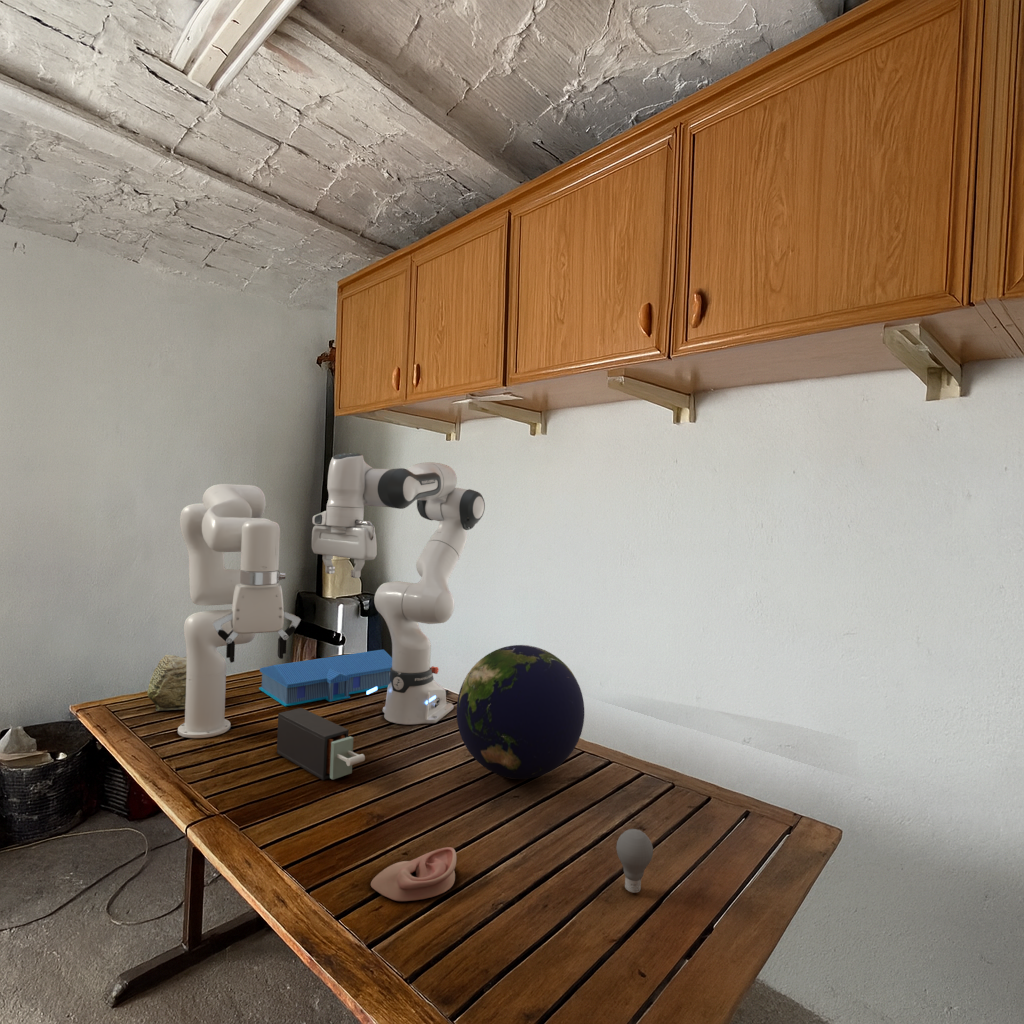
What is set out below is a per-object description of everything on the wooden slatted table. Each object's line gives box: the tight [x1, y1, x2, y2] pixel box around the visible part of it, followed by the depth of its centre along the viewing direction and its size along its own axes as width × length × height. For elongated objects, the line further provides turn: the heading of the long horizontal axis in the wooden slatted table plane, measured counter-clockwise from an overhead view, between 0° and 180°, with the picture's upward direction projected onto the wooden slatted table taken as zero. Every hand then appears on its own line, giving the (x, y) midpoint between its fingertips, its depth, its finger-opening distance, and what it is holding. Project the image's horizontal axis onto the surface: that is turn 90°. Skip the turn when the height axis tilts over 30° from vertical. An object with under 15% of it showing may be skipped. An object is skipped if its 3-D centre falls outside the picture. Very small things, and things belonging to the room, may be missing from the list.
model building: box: [258, 649, 392, 707], centre depth 208 cm, size 39×24×10 cm, turn 132°
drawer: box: [326, 735, 366, 781], centre depth 146 cm, size 25×5×8 cm, turn 49°
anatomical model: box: [370, 846, 458, 902], centre depth 106 cm, size 13×4×12 cm
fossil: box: [147, 654, 187, 712], centre depth 185 cm, size 9×18×15 cm, turn 132°
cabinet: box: [276, 707, 350, 781], centre depth 150 cm, size 21×6×10 cm, turn 49°
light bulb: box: [615, 828, 654, 894], centre depth 106 cm, size 6×6×10 cm
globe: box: [456, 644, 585, 780], centre depth 149 cm, size 30×30×30 cm
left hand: (256, 659), depth 134 cm, fingers open, 9 cm apart
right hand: (342, 575), depth 155 cm, fingers open, 8 cm apart
